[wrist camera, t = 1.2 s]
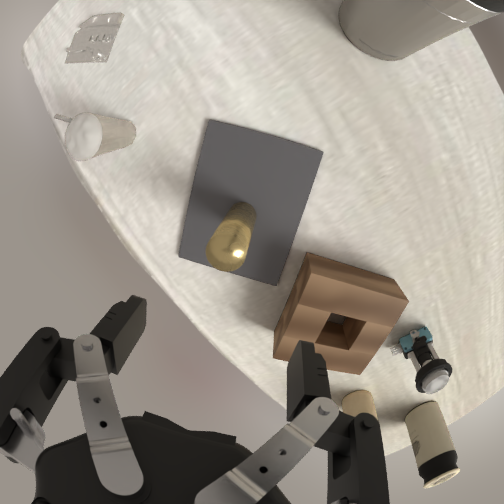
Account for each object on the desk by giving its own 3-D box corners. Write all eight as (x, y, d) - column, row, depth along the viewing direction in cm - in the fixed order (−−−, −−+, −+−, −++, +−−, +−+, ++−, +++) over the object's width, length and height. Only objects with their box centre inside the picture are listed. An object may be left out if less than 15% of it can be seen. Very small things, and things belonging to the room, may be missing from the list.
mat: (210, 119, 26) (209, 119, 26) (322, 151, 26) (323, 152, 26) (179, 255, 33) (178, 257, 32) (276, 284, 33) (276, 286, 32)
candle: (368, 385, 39) (379, 434, 30) (374, 400, 41) (384, 445, 32) (337, 397, 41) (344, 445, 31) (346, 411, 42) (352, 456, 33)
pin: (232, 198, 29) (210, 228, 20) (259, 206, 29) (250, 240, 20) (225, 224, 30) (201, 264, 21) (252, 232, 30) (240, 276, 21)
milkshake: (124, 102, 26) (69, 96, 16) (149, 134, 27) (96, 137, 18) (100, 128, 27) (42, 133, 18) (122, 160, 28) (67, 174, 19)
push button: (391, 357, 36) (410, 407, 27) (386, 335, 35) (408, 387, 25) (429, 340, 35) (453, 386, 25) (427, 316, 33) (455, 363, 24)
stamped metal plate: (127, 15, 21) (121, 12, 20) (109, 63, 24) (103, 61, 23) (82, 20, 21) (76, 18, 20) (67, 64, 24) (60, 62, 22)
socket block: (307, 252, 31) (311, 272, 26) (394, 279, 31) (408, 301, 27) (274, 331, 36) (272, 358, 31) (353, 349, 36) (359, 374, 31)
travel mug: (443, 398, 41) (469, 465, 24) (426, 419, 44) (445, 482, 27) (415, 402, 41) (437, 476, 24) (398, 424, 44) (414, 492, 28)
